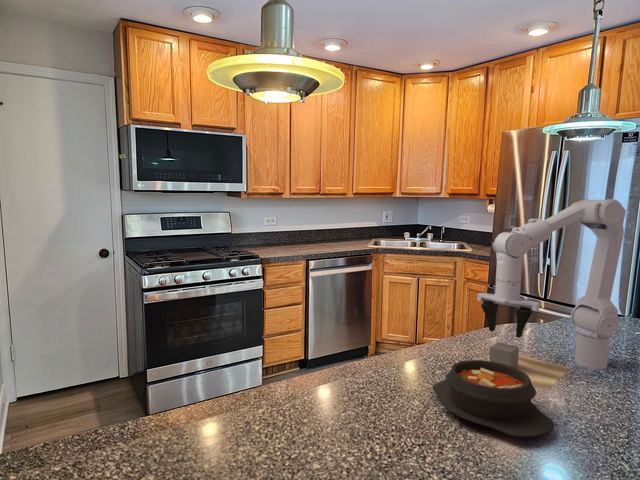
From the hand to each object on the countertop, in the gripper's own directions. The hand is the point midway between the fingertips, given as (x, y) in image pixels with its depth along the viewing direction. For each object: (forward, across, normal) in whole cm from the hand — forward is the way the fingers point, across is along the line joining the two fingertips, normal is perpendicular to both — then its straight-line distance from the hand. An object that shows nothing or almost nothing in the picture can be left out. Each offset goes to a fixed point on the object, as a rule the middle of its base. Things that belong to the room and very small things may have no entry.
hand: (505, 333), depth 106 cm
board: (+10, +4, +4) cm, 11 cm away
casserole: (+10, +6, -24) cm, 27 cm away
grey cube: (+9, 0, 0) cm, 9 cm away
